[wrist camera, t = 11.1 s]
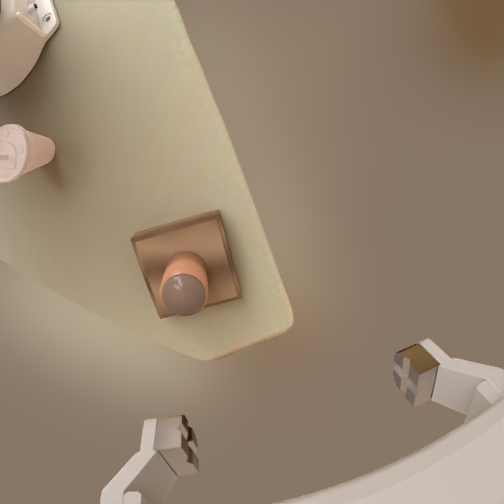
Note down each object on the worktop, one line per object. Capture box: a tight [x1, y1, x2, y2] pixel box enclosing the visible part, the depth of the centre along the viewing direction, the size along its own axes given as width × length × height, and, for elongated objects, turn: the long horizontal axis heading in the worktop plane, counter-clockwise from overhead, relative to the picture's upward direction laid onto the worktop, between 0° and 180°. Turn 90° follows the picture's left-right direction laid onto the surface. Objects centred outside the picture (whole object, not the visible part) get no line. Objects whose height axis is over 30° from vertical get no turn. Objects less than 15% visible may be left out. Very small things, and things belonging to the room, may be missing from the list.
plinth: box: [131, 210, 242, 319], centre depth 39 cm, size 11×11×3 cm
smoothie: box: [0, 124, 55, 183], centre depth 27 cm, size 6×6×14 cm
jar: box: [159, 251, 208, 316], centre depth 34 cm, size 5×5×7 cm
